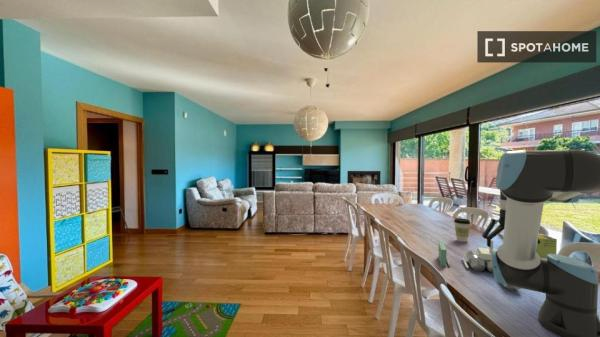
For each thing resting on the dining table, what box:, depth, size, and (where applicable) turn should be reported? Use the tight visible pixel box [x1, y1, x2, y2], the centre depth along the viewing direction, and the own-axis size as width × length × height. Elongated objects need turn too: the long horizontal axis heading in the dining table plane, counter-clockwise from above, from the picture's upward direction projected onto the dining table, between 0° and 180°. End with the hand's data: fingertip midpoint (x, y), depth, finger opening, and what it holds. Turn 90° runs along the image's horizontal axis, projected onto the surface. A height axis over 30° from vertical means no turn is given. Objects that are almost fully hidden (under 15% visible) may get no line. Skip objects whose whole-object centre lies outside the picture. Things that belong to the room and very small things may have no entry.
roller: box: [502, 284, 521, 292], centre depth 114 cm, size 12×6×6 cm, turn 156°
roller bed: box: [465, 250, 494, 275], centre depth 131 cm, size 14×21×6 cm, turn 66°
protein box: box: [536, 233, 558, 258], centre depth 137 cm, size 10×15×16 cm
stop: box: [438, 241, 447, 268], centre depth 140 cm, size 14×2×9 cm, turn 156°
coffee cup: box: [453, 217, 472, 243], centre depth 177 cm, size 10×10×15 cm
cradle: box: [446, 255, 470, 271], centre depth 137 cm, size 14×9×2 cm, turn 156°
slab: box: [476, 246, 498, 260], centre depth 129 cm, size 10×16×3 cm, turn 66°
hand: (509, 256), depth 113 cm, fingers open, 13 cm apart
